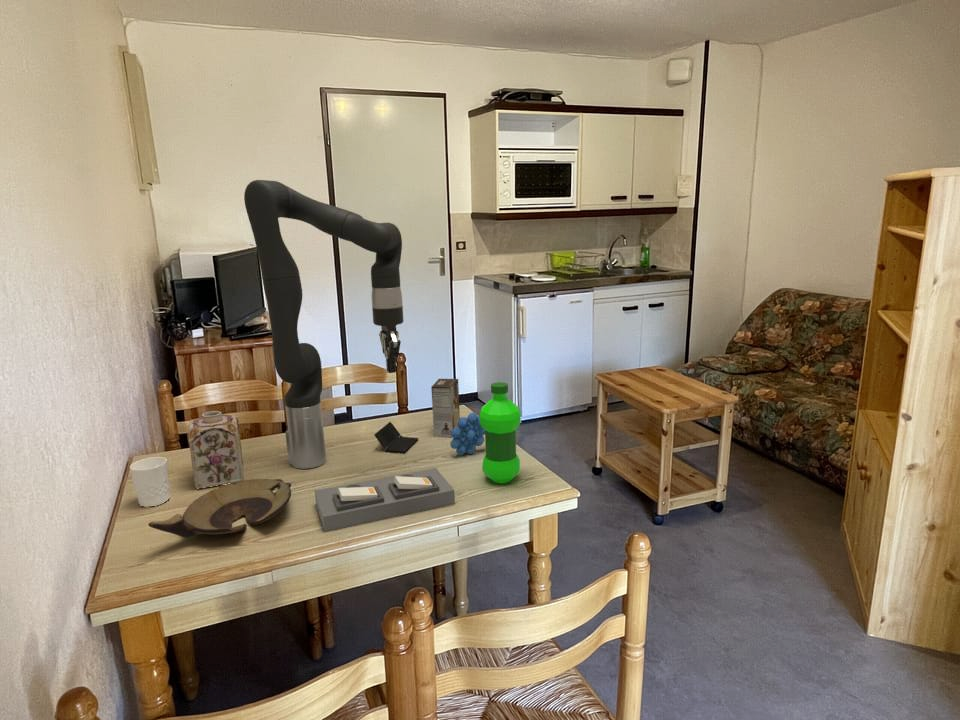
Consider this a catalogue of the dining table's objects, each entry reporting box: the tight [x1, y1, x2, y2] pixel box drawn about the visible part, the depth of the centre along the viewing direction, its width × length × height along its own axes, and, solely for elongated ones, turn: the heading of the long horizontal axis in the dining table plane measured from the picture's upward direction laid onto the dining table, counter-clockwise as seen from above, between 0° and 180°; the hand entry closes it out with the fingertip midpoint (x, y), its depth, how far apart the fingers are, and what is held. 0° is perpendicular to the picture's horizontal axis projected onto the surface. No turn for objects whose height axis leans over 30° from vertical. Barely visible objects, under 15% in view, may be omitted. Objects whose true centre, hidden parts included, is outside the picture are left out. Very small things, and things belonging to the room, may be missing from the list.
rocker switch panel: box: [314, 467, 456, 532], centre depth 142 cm, size 30×14×4 cm, turn 112°
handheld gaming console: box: [373, 421, 419, 455], centre depth 178 cm, size 12×7×10 cm
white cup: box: [129, 456, 171, 507], centre depth 147 cm, size 8×8×10 cm
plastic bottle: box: [479, 381, 521, 484], centre depth 152 cm, size 10×10×25 cm
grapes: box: [450, 411, 485, 456], centre depth 170 cm, size 12×7×12 cm, turn 117°
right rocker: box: [394, 476, 433, 489], centre depth 142 cm, size 8×4×1 cm, turn 112°
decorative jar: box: [187, 410, 245, 489], centre depth 158 cm, size 12×12×18 cm
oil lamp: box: [147, 478, 292, 538], centre depth 135 cm, size 22×30×8 cm
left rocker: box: [338, 487, 378, 501], centre depth 137 cm, size 8×4×1 cm, turn 112°
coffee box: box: [431, 378, 461, 438], centre depth 187 cm, size 9×6×16 cm
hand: (391, 372), depth 155 cm, fingers closed
